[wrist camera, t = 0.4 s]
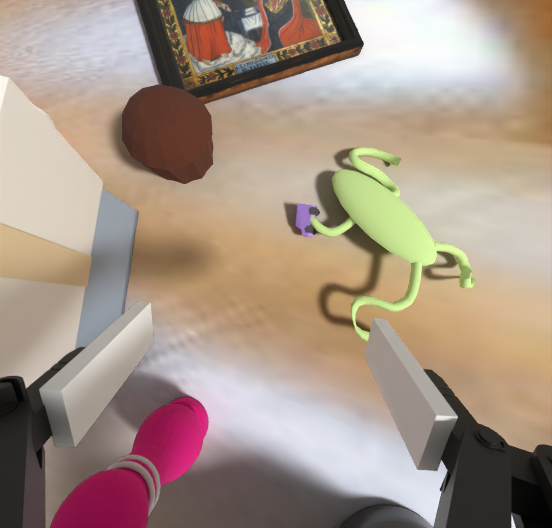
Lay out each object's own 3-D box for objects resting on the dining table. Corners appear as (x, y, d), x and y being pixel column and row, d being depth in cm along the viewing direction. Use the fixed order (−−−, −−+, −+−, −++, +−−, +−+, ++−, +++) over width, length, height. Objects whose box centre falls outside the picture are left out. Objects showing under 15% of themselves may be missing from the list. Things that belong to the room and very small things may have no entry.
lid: (61, 372, 26) (72, 372, 27) (-104, 452, 13) (-79, 450, 13) (95, 180, 30) (104, 181, 30) (-8, 73, 16) (12, 78, 16)
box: (118, 353, 35) (63, 369, 27) (17, 346, 36) (-70, 360, 27) (138, 211, 38) (95, 183, 30) (45, 207, 39) (-25, 178, 30)
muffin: (132, 164, 40) (83, 118, 30) (177, 110, 41) (143, 48, 31) (195, 206, 38) (165, 172, 29) (238, 148, 40) (224, 97, 30)
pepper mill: (198, 462, 33) (76, 695, 13) (147, 439, 34) (-43, 629, 14) (221, 405, 34) (138, 543, 14) (171, 383, 35) (24, 488, 15)
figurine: (365, 362, 35) (381, 373, 29) (272, 195, 39) (270, 177, 33) (481, 297, 36) (518, 296, 30) (379, 140, 40) (395, 114, 34)
